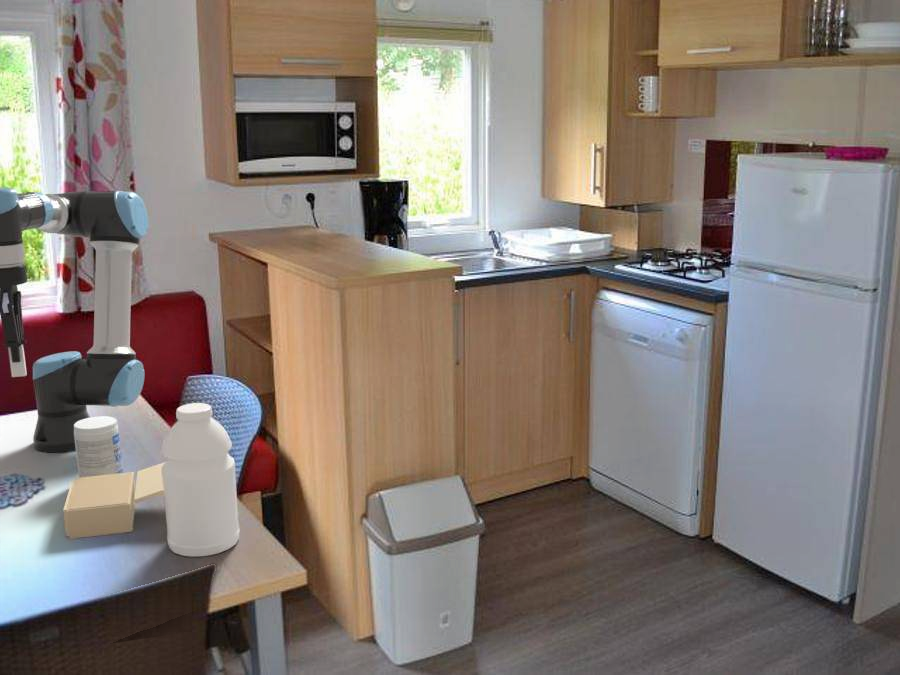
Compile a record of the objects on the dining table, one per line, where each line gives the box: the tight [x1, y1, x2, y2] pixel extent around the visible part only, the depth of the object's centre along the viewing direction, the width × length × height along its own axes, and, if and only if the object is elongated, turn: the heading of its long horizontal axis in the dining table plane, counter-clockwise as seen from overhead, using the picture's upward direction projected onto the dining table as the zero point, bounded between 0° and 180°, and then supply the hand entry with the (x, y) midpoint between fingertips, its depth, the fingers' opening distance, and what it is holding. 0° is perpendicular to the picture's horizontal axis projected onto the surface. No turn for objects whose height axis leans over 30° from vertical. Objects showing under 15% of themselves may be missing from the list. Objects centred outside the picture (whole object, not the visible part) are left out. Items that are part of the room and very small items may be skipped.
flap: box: [134, 461, 166, 503], centre depth 201 cm, size 16×1×12 cm
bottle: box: [161, 402, 241, 558], centre depth 184 cm, size 14×14×28 cm
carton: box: [62, 471, 137, 540], centre depth 198 cm, size 18×13×6 cm
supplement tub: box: [74, 415, 124, 478], centre depth 216 cm, size 10×10×15 cm
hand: (19, 375), depth 198 cm, fingers closed
